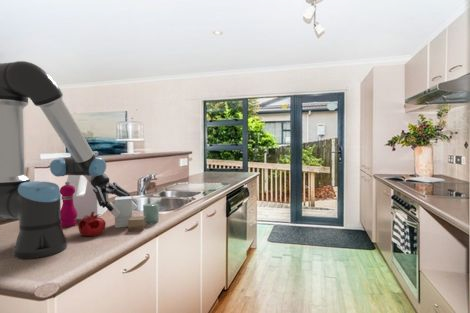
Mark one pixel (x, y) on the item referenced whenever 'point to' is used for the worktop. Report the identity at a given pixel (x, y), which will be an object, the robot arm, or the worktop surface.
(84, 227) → the pomegranate
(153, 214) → the green rounded block
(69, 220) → the pepper mill
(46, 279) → the worktop surface
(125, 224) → the supplement box
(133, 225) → the walnut block
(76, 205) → the milk carton
